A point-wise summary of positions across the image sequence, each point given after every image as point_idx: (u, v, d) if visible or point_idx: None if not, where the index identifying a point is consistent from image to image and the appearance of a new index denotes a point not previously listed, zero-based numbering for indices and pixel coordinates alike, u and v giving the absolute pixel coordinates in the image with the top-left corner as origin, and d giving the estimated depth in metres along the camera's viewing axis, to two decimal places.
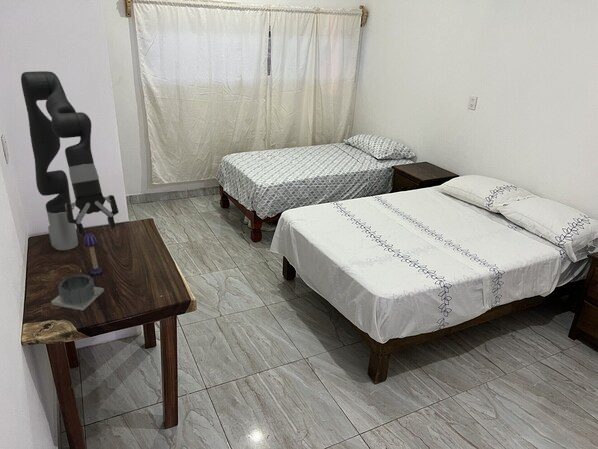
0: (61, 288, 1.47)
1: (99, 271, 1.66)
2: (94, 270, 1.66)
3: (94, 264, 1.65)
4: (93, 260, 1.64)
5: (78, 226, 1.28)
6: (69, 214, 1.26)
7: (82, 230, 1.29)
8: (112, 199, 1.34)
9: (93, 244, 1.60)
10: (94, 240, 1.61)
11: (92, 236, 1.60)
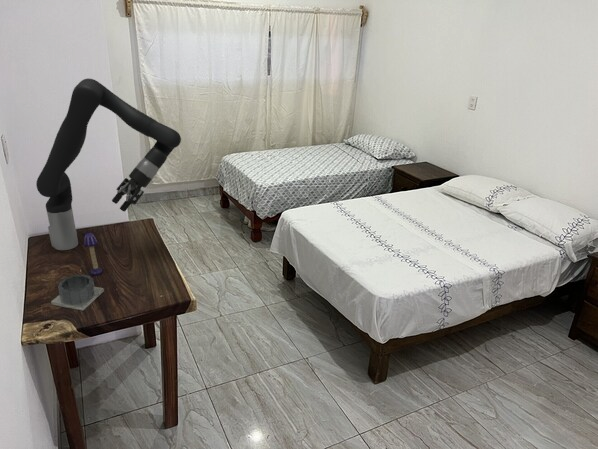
0: (61, 288, 1.47)
1: (99, 271, 1.66)
2: (94, 270, 1.66)
3: (94, 264, 1.65)
4: (93, 260, 1.64)
5: None
6: None
7: None
8: None
9: (93, 244, 1.60)
10: (94, 240, 1.61)
11: (92, 236, 1.60)
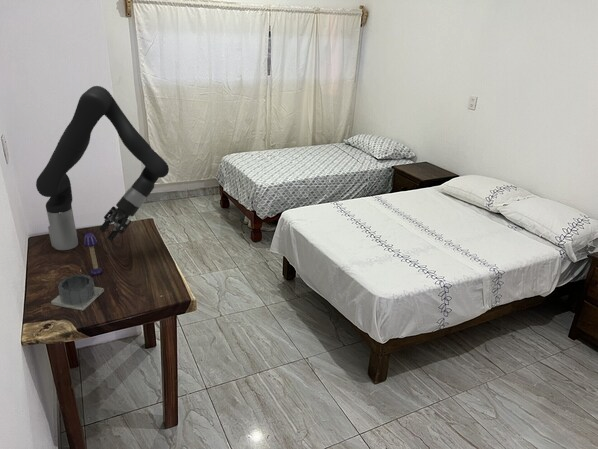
0: (61, 288, 1.47)
1: (99, 271, 1.66)
2: (94, 270, 1.66)
3: (94, 264, 1.65)
4: (93, 260, 1.64)
5: None
6: None
7: None
8: None
9: (93, 244, 1.60)
10: (94, 240, 1.61)
11: (92, 236, 1.60)
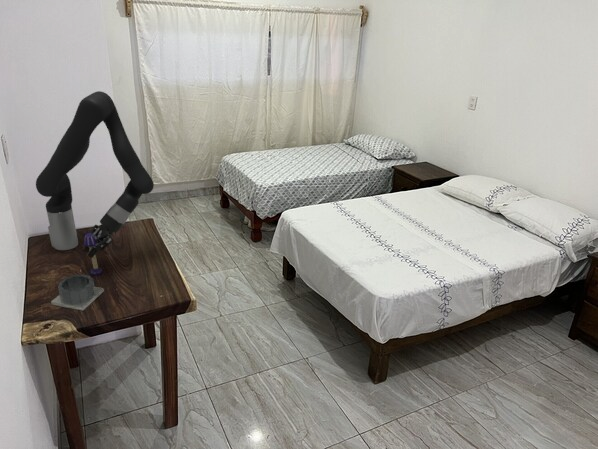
0: (61, 288, 1.47)
1: (99, 271, 1.66)
2: (94, 270, 1.66)
3: (94, 264, 1.65)
4: (93, 260, 1.64)
5: None
6: None
7: None
8: None
9: (93, 244, 1.60)
10: (94, 240, 1.61)
11: (92, 236, 1.60)
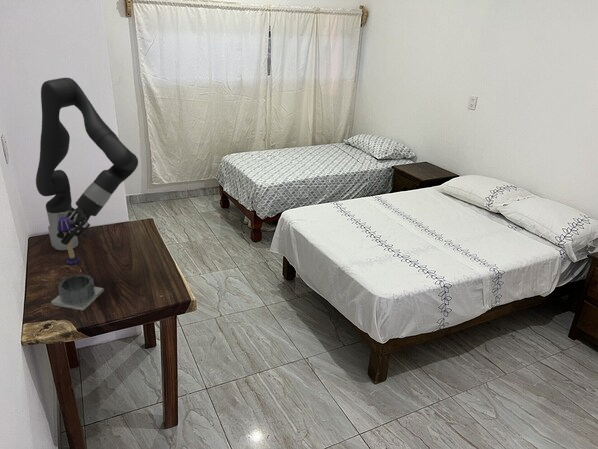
0: (61, 288, 1.47)
1: (76, 260, 1.45)
2: (70, 259, 1.45)
3: (70, 252, 1.44)
4: (69, 248, 1.43)
5: None
6: None
7: None
8: None
9: (68, 229, 1.39)
10: (69, 224, 1.40)
11: (66, 220, 1.39)
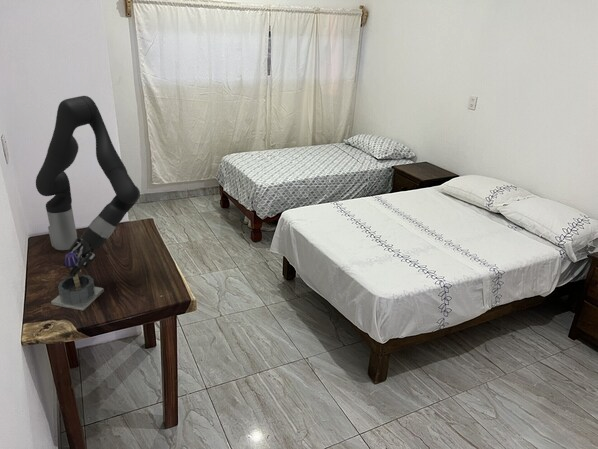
0: (61, 288, 1.47)
1: None
2: None
3: (77, 286, 1.49)
4: (75, 282, 1.49)
5: None
6: None
7: None
8: None
9: None
10: (76, 260, 1.45)
11: (74, 256, 1.45)
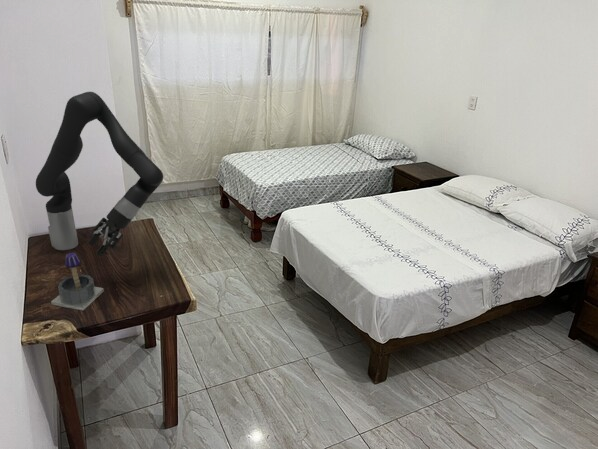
0: (61, 288, 1.47)
1: None
2: None
3: (77, 286, 1.49)
4: (76, 282, 1.49)
5: None
6: None
7: None
8: None
9: (75, 265, 1.45)
10: (76, 260, 1.45)
11: (74, 256, 1.45)
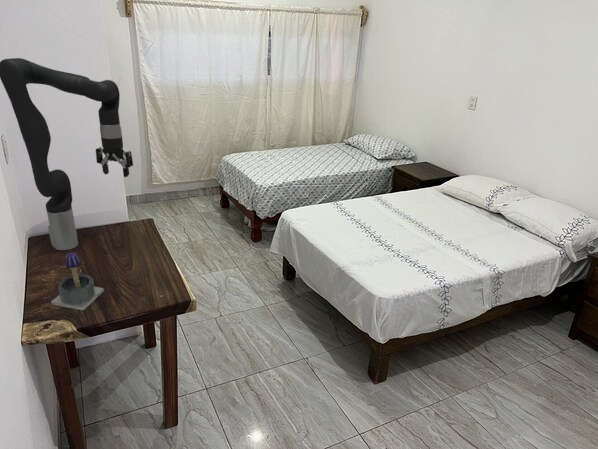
0: (61, 288, 1.47)
1: None
2: None
3: (77, 286, 1.49)
4: (76, 282, 1.49)
5: None
6: None
7: None
8: None
9: (75, 265, 1.45)
10: (76, 260, 1.45)
11: (74, 256, 1.45)
